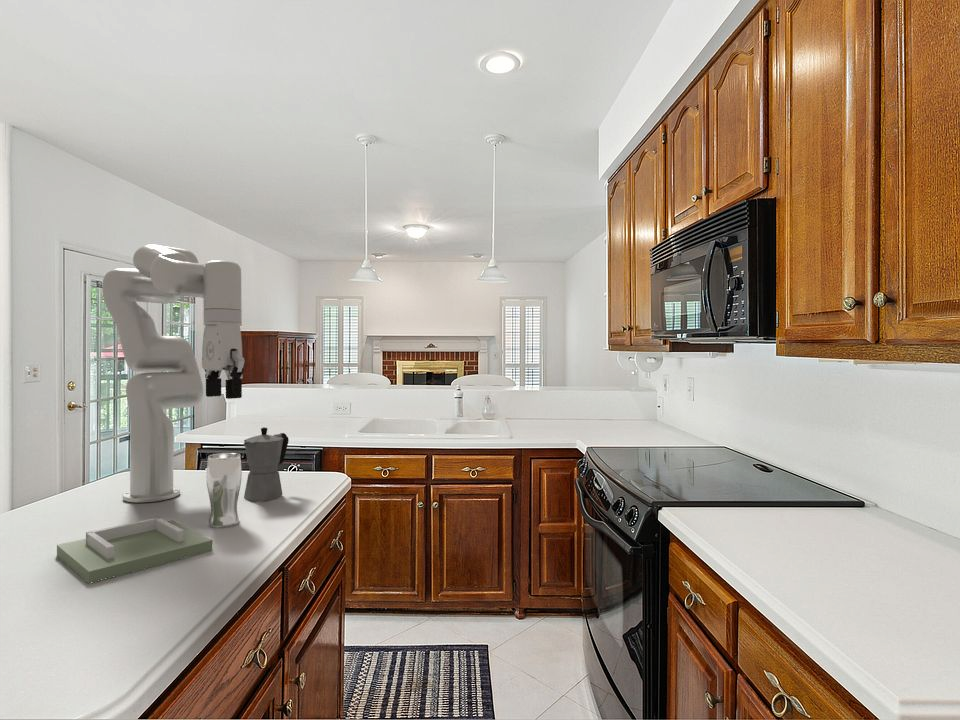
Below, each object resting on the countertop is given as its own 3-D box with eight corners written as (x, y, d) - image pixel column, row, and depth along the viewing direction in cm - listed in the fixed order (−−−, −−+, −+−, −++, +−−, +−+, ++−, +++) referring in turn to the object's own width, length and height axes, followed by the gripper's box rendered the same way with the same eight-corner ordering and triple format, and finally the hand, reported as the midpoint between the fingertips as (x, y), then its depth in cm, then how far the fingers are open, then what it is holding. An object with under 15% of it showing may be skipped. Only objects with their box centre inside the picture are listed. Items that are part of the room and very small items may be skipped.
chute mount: (56, 555, 102) (56, 534, 102) (172, 529, 118) (172, 510, 118) (88, 583, 91) (88, 559, 91) (212, 550, 106) (212, 529, 106)
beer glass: (227, 530, 118) (228, 459, 118) (198, 527, 119) (199, 457, 119) (247, 520, 125) (248, 453, 125) (220, 517, 126) (220, 451, 126)
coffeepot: (259, 505, 136) (259, 432, 136) (229, 501, 140) (230, 429, 139) (301, 491, 150) (301, 424, 150) (273, 487, 154) (273, 422, 153)
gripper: (188, 319, 124) (189, 396, 124) (223, 315, 113) (223, 400, 113) (222, 321, 130) (223, 394, 130) (258, 317, 119) (259, 398, 119)
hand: (223, 397), depth 122 cm, fingers open, 9 cm apart
